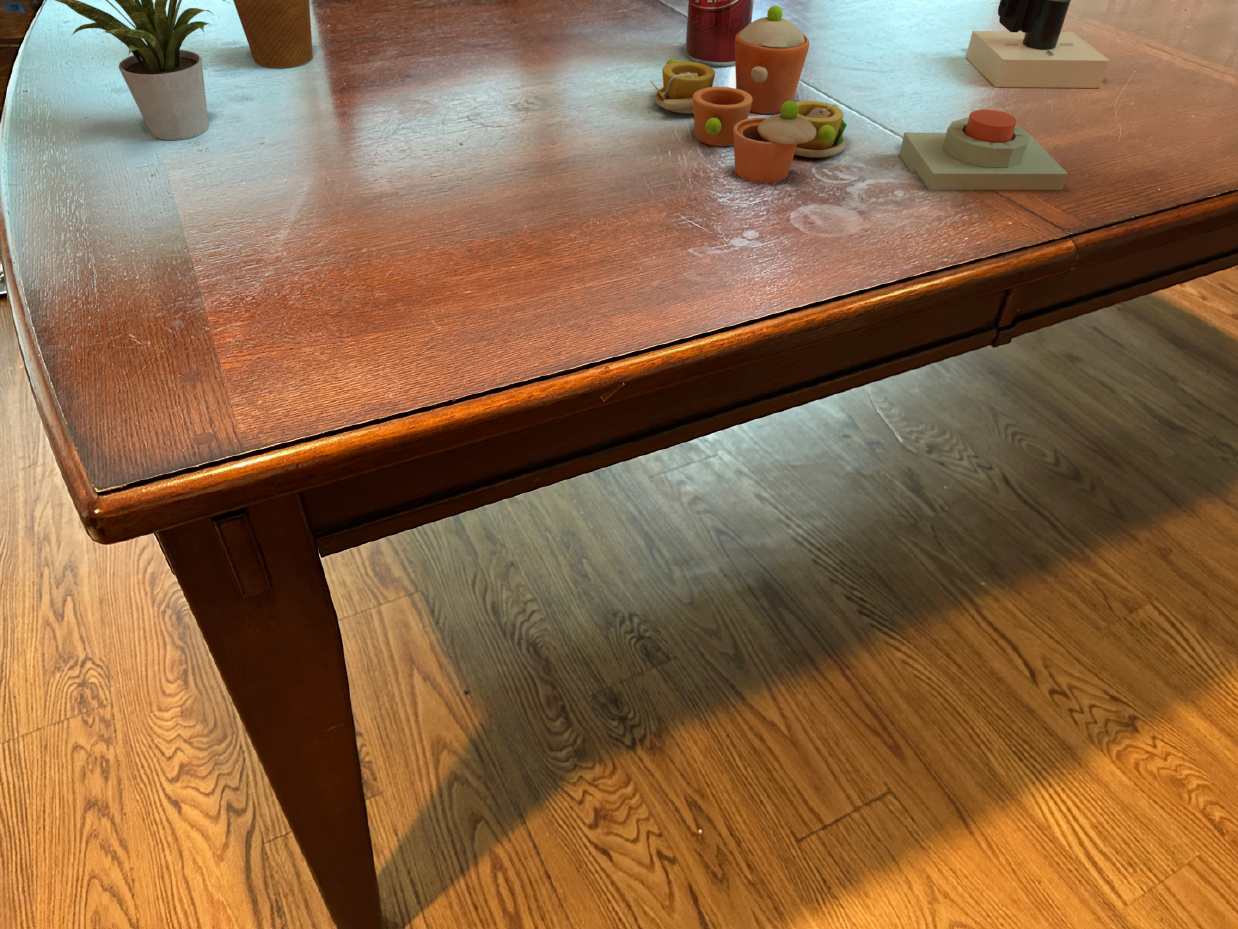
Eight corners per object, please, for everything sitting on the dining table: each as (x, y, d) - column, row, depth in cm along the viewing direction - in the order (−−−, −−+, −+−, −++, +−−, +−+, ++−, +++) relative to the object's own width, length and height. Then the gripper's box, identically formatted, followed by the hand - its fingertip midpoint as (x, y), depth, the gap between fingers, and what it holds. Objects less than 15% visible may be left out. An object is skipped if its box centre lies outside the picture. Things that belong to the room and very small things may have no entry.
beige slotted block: (1063, 58, 111) (1072, 30, 109) (1100, 87, 104) (1110, 58, 102) (965, 57, 111) (972, 29, 109) (995, 87, 103) (1003, 57, 101)
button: (1001, 128, 85) (1007, 109, 84) (1017, 146, 82) (1023, 126, 81) (958, 128, 84) (963, 108, 83) (973, 145, 81) (978, 126, 80)
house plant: (205, 87, 97) (158, -92, 86) (294, 119, 91) (255, -69, 81) (77, 128, 88) (6, -66, 78) (166, 166, 82) (103, -38, 72)
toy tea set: (639, 94, 99) (642, -4, 92) (773, 83, 102) (785, -13, 96) (733, 201, 80) (746, 87, 74) (893, 182, 84) (918, 72, 77)
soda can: (713, 43, 112) (722, -70, 104) (760, 58, 108) (773, -57, 101) (671, 56, 108) (678, -60, 100) (719, 72, 104) (730, -47, 97)
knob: (1048, 39, 107) (1064, -11, 103) (1061, 49, 104) (1077, -2, 100) (1017, 39, 106) (1032, -12, 103) (1029, 49, 104) (1045, -3, 100)
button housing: (1021, 155, 89) (1035, 113, 86) (1059, 197, 82) (1075, 153, 80) (898, 154, 88) (908, 112, 86) (926, 196, 82) (938, 152, 79)
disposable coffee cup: (222, 58, 104) (192, -63, 96) (295, 39, 109) (272, -77, 101) (271, 79, 99) (244, -46, 91) (345, 59, 105) (325, -61, 97)
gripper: (1014, -252, 62) (940, 39, 74) (1230, -242, 63) (1121, 44, 75) (976, -261, 67) (913, 11, 79) (1175, -251, 68) (1082, 16, 80)
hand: (1014, 26), depth 77 cm, fingers closed
